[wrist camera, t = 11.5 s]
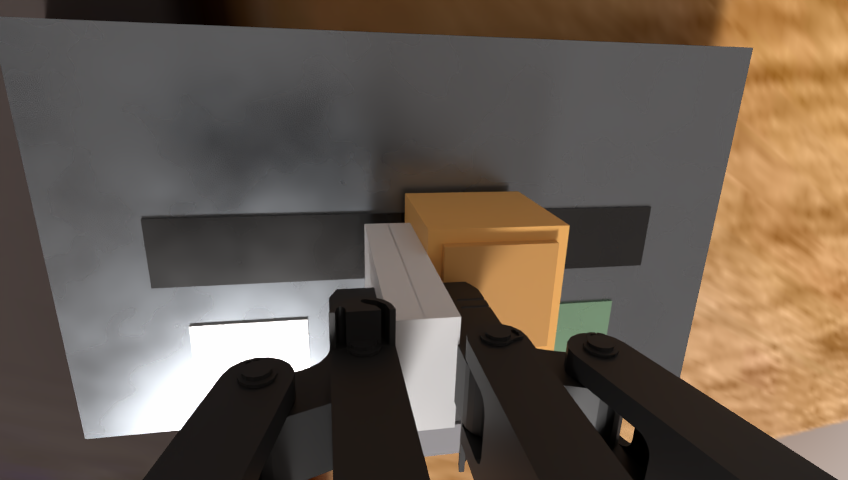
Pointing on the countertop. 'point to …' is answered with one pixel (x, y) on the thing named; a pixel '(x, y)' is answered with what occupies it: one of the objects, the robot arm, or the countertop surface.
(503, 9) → the countertop surface
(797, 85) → the countertop surface
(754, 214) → the countertop surface
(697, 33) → the countertop surface
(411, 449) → the robot arm
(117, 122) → the panel
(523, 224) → the orange block
